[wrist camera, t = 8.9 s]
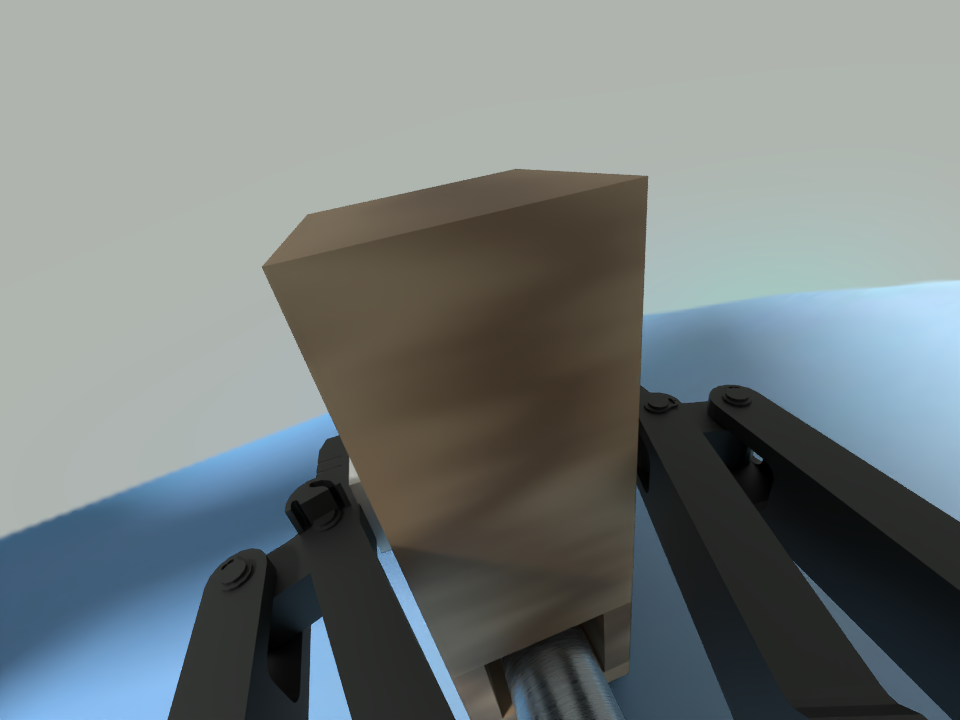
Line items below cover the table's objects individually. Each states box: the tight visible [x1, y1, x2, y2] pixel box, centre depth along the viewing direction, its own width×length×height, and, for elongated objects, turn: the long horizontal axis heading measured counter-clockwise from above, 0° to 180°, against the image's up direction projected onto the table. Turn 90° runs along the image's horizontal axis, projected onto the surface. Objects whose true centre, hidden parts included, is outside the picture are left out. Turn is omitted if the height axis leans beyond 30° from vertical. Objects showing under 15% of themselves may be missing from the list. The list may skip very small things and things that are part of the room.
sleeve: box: [262, 169, 648, 720], centre depth 13 cm, size 6×6×18 cm
